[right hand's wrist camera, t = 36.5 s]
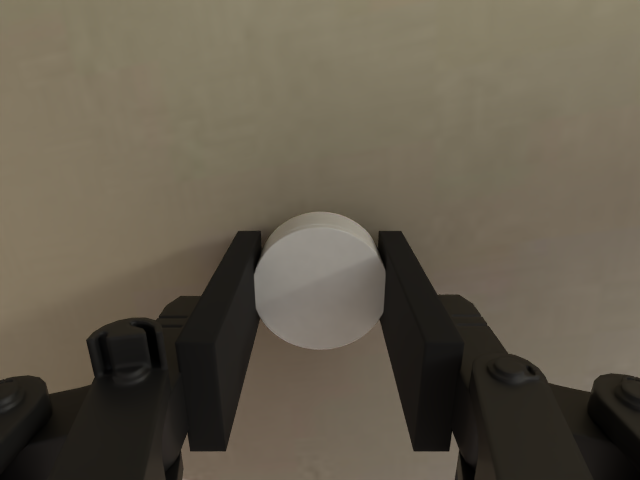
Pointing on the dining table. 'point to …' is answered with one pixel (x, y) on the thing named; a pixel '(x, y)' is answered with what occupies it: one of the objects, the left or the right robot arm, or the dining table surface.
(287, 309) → the cap
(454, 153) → the dining table surface
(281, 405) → the dining table surface
